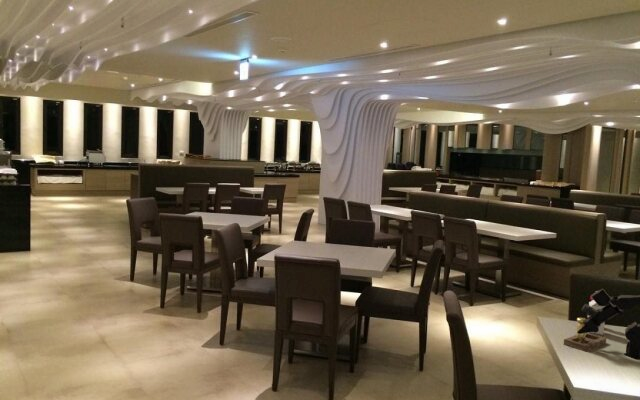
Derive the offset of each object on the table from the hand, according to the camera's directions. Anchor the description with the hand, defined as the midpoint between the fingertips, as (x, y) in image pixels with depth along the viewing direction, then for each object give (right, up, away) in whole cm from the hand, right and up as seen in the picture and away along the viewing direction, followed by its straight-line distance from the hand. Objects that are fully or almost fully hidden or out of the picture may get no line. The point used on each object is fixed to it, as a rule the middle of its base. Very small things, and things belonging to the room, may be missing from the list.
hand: (578, 331), depth 267 cm
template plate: (+5, -7, +4) cm, 9 cm away
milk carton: (+20, -6, +24) cm, 32 cm away
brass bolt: (+1, -7, 0) cm, 7 cm away
